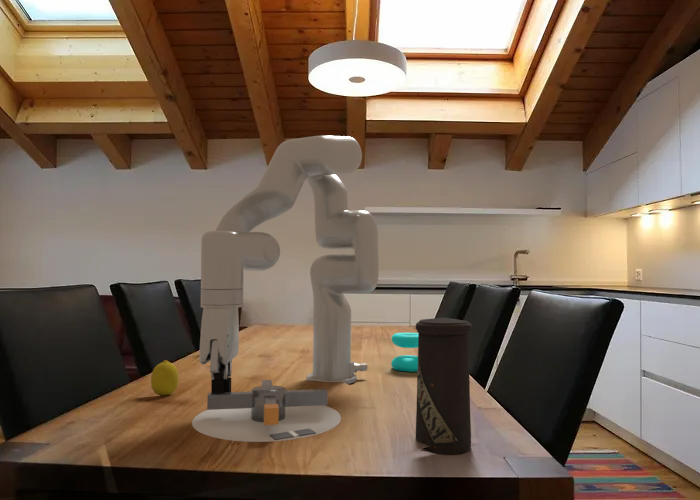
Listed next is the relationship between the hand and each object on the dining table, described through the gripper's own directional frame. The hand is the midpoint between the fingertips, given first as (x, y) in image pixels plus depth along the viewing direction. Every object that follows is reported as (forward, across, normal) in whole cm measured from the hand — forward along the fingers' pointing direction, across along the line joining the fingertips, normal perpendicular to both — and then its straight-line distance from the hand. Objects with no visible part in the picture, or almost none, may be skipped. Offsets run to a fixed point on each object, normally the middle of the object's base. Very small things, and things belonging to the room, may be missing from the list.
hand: (221, 400), depth 92 cm
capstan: (+3, +1, +9) cm, 9 cm away
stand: (+4, +1, +9) cm, 10 cm away
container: (+4, +12, +38) cm, 40 cm away
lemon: (+4, -16, -16) cm, 23 cm away
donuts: (+5, -53, +40) cm, 66 cm away
